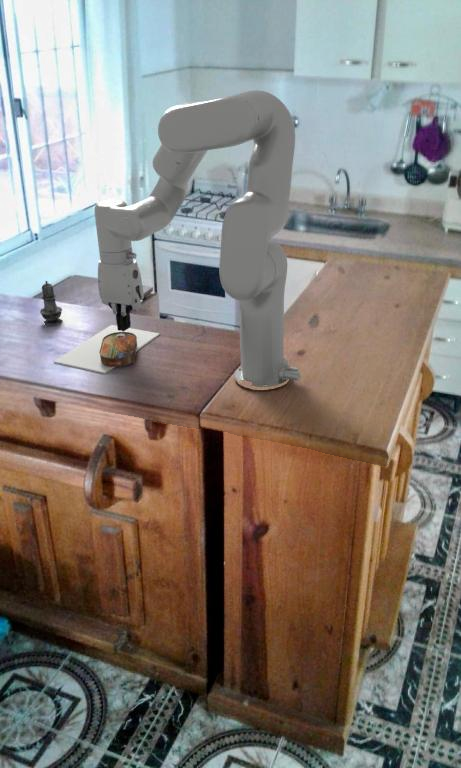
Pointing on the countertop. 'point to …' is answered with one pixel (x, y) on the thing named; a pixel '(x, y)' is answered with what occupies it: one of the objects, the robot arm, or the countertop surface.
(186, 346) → the countertop surface
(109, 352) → the tin
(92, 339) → the felt mat
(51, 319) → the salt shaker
